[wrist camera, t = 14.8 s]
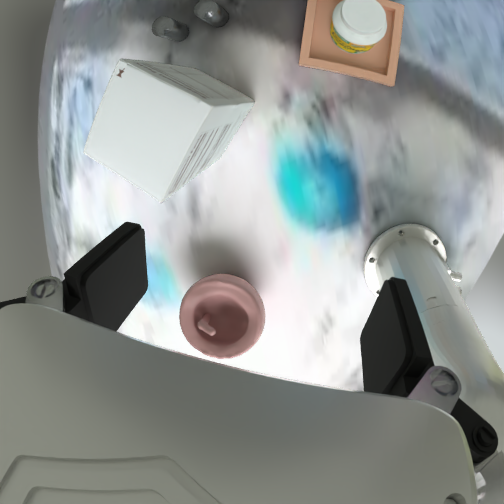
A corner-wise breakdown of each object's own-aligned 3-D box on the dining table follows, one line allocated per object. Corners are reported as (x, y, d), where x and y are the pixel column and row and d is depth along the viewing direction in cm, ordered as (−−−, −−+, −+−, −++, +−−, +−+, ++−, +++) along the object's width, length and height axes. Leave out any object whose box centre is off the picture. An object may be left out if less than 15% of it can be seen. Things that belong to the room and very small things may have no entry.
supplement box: (161, 126, 37) (78, 153, 23) (193, 66, 33) (115, 55, 18) (220, 162, 38) (161, 207, 24) (258, 101, 34) (214, 105, 19)
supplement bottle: (381, 28, 26) (403, 8, 17) (363, 62, 28) (380, 51, 20) (340, 7, 25) (348, -21, 17) (321, 41, 28) (324, 21, 20)
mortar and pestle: (275, 265, 44) (261, 317, 34) (266, 326, 50) (253, 379, 40) (195, 252, 46) (163, 297, 36) (197, 312, 52) (172, 361, 42)
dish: (400, 8, 24) (404, 5, 22) (390, 86, 29) (394, 86, 28) (310, -13, 25) (310, -17, 23) (299, 65, 30) (298, 64, 29)
